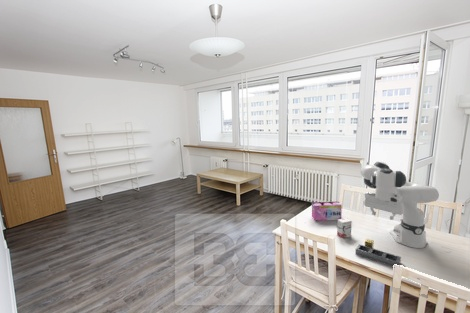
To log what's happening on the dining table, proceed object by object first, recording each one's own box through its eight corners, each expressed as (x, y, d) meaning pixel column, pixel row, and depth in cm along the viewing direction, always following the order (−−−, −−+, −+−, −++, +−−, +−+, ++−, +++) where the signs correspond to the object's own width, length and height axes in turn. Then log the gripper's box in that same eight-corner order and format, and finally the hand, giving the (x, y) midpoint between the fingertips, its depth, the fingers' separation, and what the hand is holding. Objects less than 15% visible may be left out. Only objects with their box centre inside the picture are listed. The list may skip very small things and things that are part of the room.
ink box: (341, 238, 158) (342, 222, 157) (336, 234, 163) (337, 219, 161) (351, 235, 161) (352, 220, 159) (346, 232, 165) (346, 217, 164)
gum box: (339, 216, 194) (339, 201, 192) (343, 220, 186) (343, 204, 184) (311, 217, 195) (311, 202, 193) (314, 221, 187) (314, 205, 185)
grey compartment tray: (355, 254, 139) (355, 248, 139) (358, 249, 144) (358, 244, 144) (398, 268, 124) (398, 262, 123) (400, 262, 129) (400, 257, 128)
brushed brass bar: (364, 249, 143) (364, 241, 142) (366, 247, 146) (366, 238, 145) (371, 252, 140) (372, 243, 139) (373, 249, 143) (373, 240, 142)
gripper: (363, 192, 139) (362, 213, 141) (402, 201, 123) (400, 224, 125) (367, 190, 143) (366, 210, 145) (406, 198, 127) (404, 220, 129)
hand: (382, 217), depth 135 cm, fingers open, 8 cm apart
